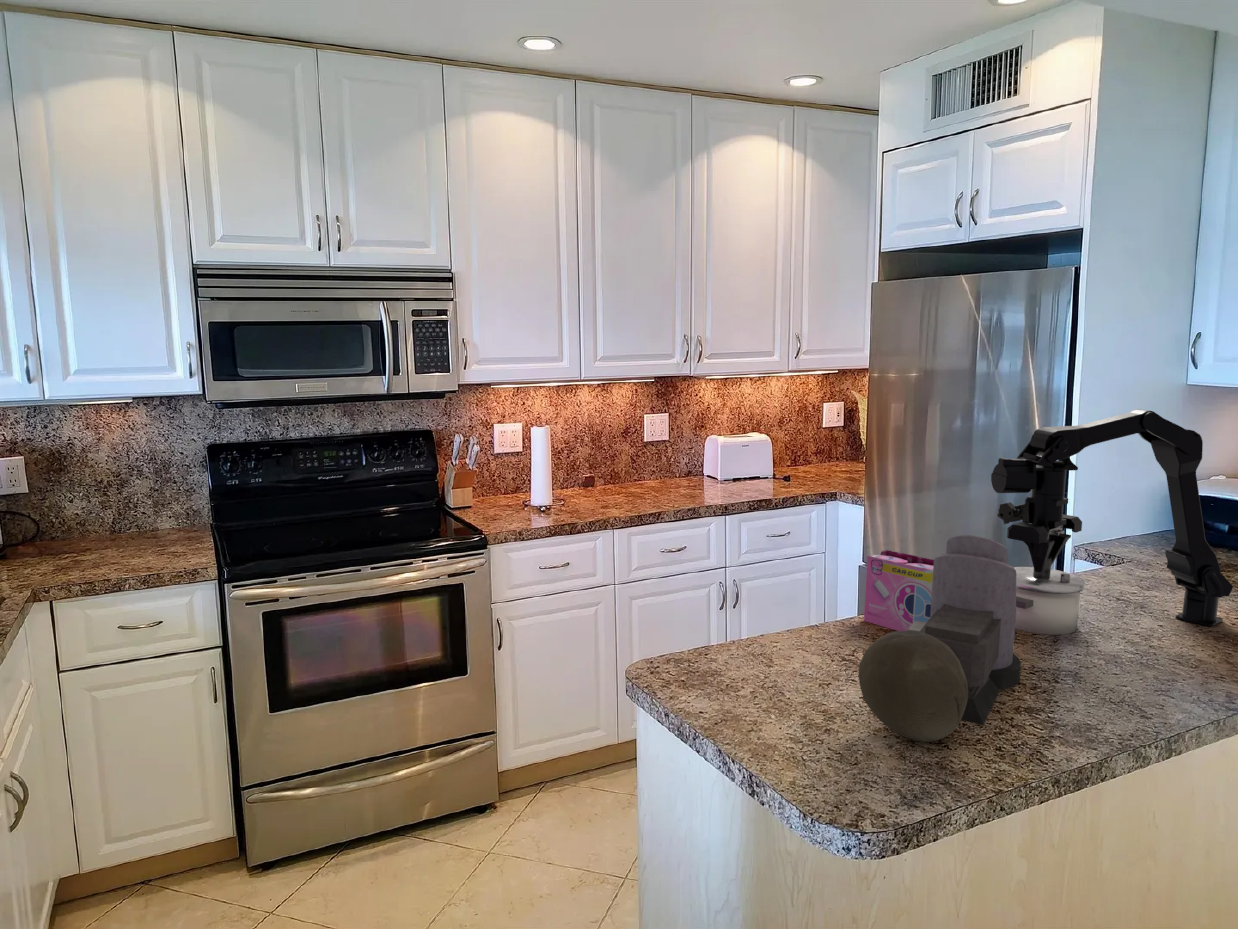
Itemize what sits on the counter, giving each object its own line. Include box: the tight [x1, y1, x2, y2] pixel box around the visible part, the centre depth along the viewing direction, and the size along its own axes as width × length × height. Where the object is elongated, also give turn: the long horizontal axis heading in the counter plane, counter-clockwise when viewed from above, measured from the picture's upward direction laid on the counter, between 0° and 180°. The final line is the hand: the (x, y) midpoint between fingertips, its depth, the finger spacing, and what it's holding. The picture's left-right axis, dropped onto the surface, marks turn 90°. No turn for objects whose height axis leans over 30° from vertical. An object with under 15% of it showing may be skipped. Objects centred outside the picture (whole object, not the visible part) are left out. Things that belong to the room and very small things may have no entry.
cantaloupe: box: [858, 630, 968, 743], centre depth 118 cm, size 14×14×15 cm
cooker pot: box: [1015, 588, 1081, 636], centre depth 168 cm, size 19×14×7 cm
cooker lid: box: [1013, 556, 1086, 594], centre depth 167 cm, size 15×15×5 cm
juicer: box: [907, 534, 1022, 726], centre depth 137 cm, size 30×16×24 cm, turn 148°
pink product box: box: [863, 549, 934, 632], centre depth 162 cm, size 24×8×14 cm, turn 42°
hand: (1041, 570), depth 167 cm, fingers closed on cooker lid, 3 cm apart
